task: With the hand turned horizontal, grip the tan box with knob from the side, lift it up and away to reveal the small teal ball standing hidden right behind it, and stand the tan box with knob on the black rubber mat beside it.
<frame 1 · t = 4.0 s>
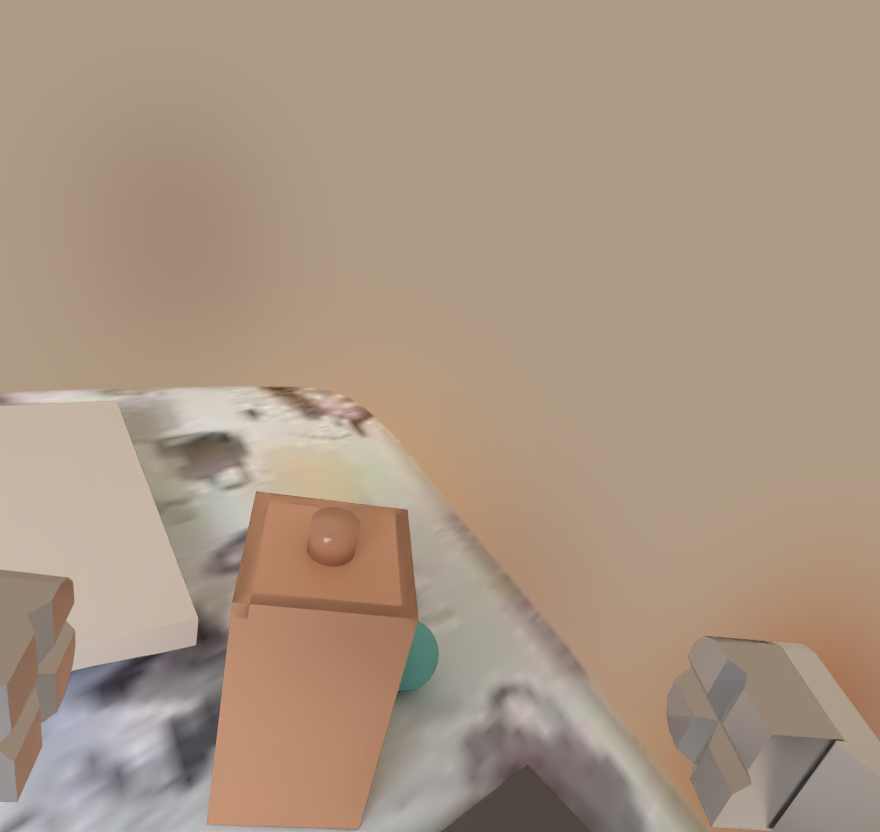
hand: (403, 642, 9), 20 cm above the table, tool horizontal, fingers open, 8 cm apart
ball: (397, 677, 34), on the table
tan box with knob: (290, 758, 29), on the table
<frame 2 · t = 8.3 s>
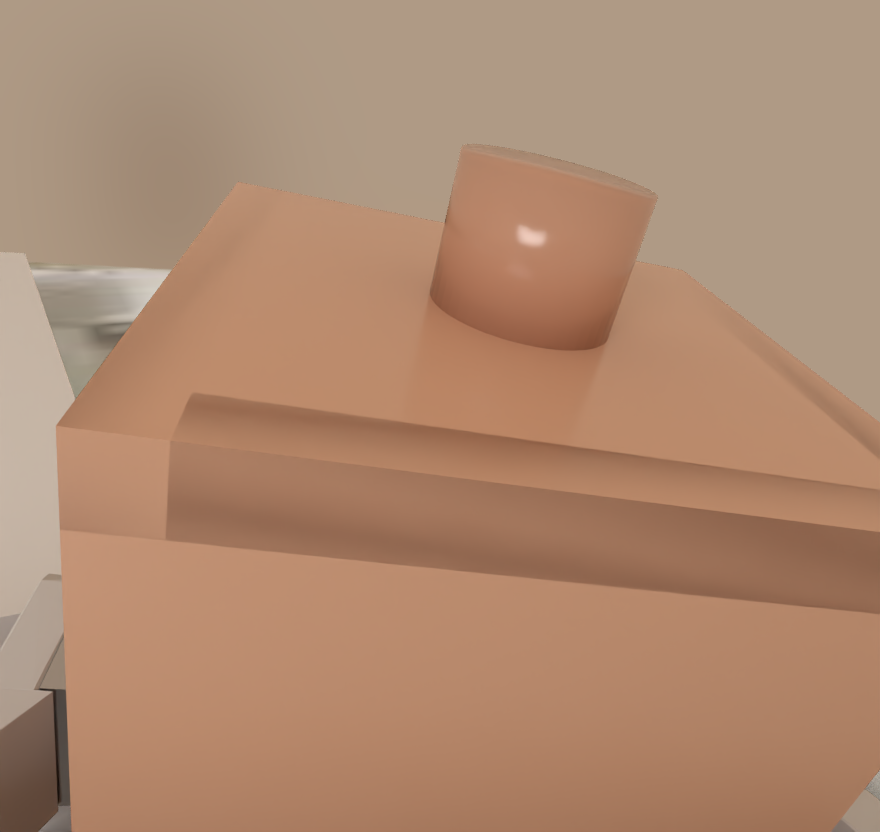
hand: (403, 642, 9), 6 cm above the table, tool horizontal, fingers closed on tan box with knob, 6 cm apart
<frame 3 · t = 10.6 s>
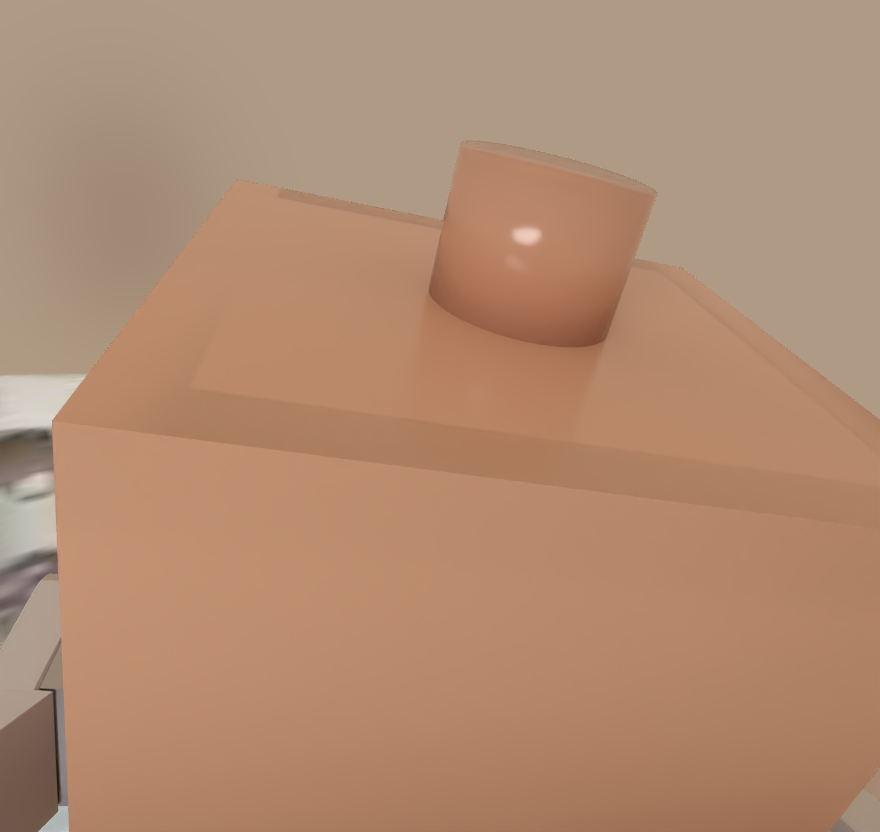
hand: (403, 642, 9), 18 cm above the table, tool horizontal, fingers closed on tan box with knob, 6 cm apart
when the fingers open (8 cm above the table, at t = 12.9 s): tan box with knob drops 1 cm, resting on mat.
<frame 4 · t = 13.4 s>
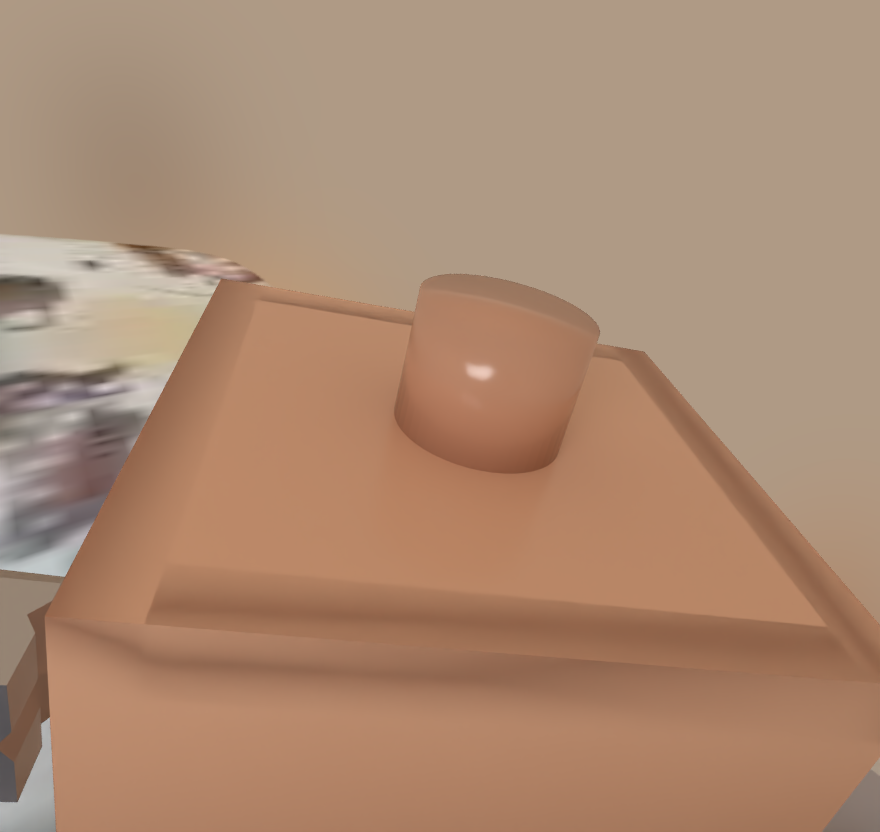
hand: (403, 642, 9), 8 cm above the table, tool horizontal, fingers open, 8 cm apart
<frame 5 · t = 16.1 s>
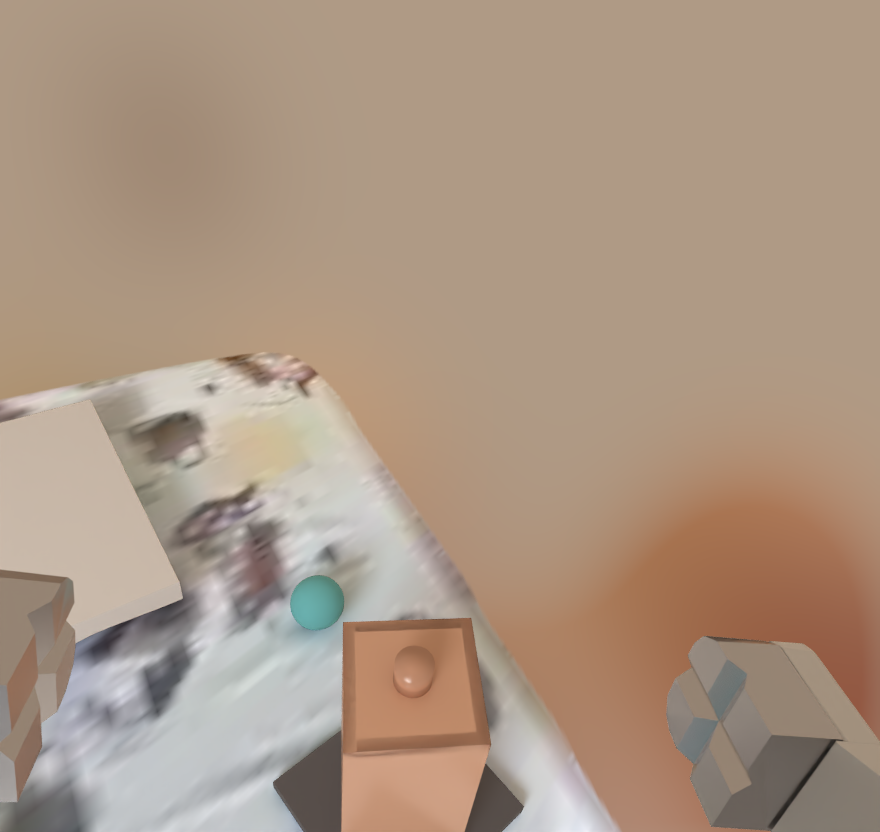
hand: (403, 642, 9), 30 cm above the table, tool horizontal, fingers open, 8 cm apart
ball: (317, 617, 44), on the table
mat: (398, 799, 36), on the table
cream flat block: (19, 555, 46), on the table
tan box with knob: (397, 794, 36), point 1 cm above the table, touching mat
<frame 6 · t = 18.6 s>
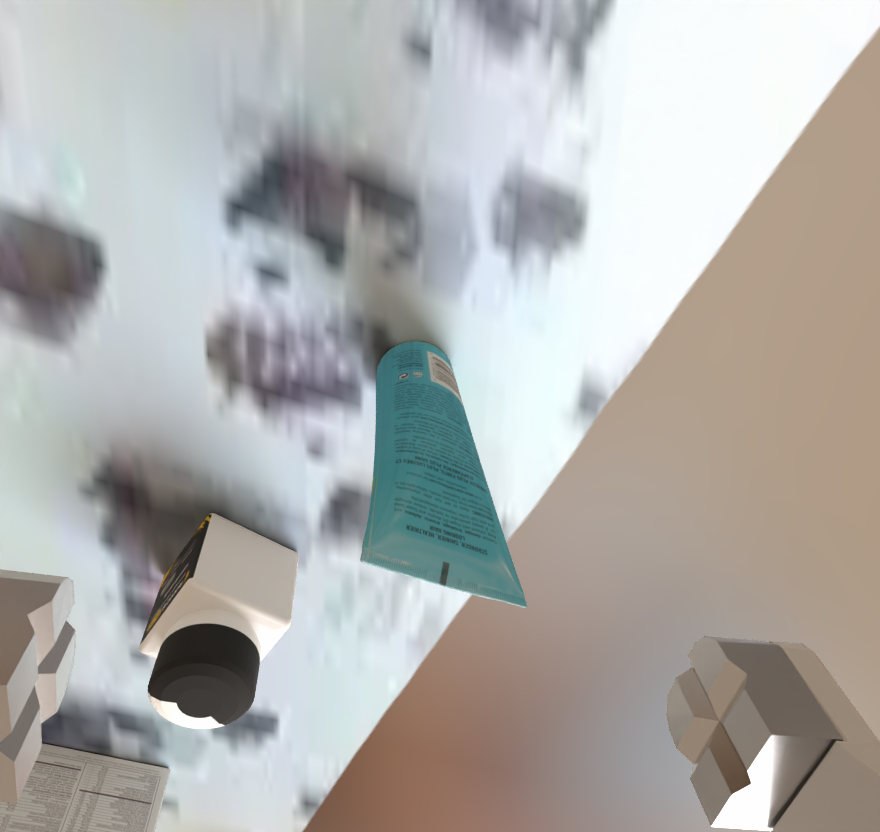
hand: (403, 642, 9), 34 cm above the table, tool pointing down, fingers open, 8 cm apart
medicine bottle: (232, 562, 51), on the table
tube: (414, 375, 46), on the table
supplement box: (76, 794, 62), on the table
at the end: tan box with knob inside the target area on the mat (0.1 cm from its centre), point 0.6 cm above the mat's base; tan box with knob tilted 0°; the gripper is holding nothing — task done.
